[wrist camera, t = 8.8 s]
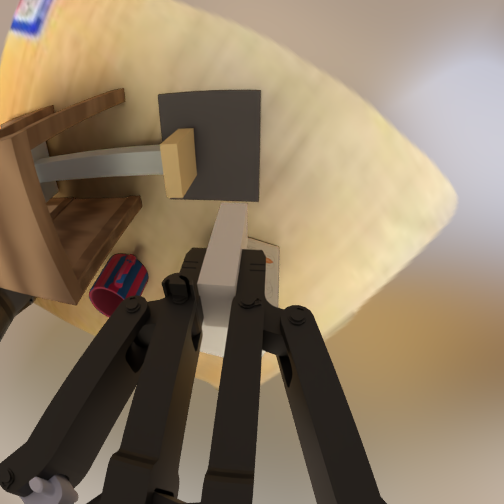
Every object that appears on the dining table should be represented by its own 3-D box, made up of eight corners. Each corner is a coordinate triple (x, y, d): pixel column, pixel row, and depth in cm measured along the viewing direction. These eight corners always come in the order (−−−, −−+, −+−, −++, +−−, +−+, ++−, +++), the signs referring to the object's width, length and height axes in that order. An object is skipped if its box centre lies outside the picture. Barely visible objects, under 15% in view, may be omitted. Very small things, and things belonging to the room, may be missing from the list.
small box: (205, 264, 38) (181, 347, 28) (216, 226, 34) (189, 312, 24) (264, 281, 39) (256, 367, 29) (281, 246, 35) (278, 335, 25)
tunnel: (34, 208, 35) (-30, 278, 22) (9, 120, 26) (-76, 175, 13) (142, 206, 33) (76, 305, 21) (123, 88, 24) (10, 138, 12)
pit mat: (171, 197, 32) (170, 199, 32) (159, 94, 25) (157, 95, 24) (258, 200, 32) (258, 201, 31) (260, 90, 24) (260, 90, 24)
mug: (103, 270, 41) (84, 302, 36) (125, 230, 36) (102, 264, 31) (138, 293, 43) (123, 326, 38) (166, 258, 38) (149, 295, 33)
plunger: (53, 191, 32) (25, 217, 27) (38, 130, 27) (4, 150, 21) (201, 187, 31) (184, 219, 26) (195, 106, 25) (173, 121, 20)
